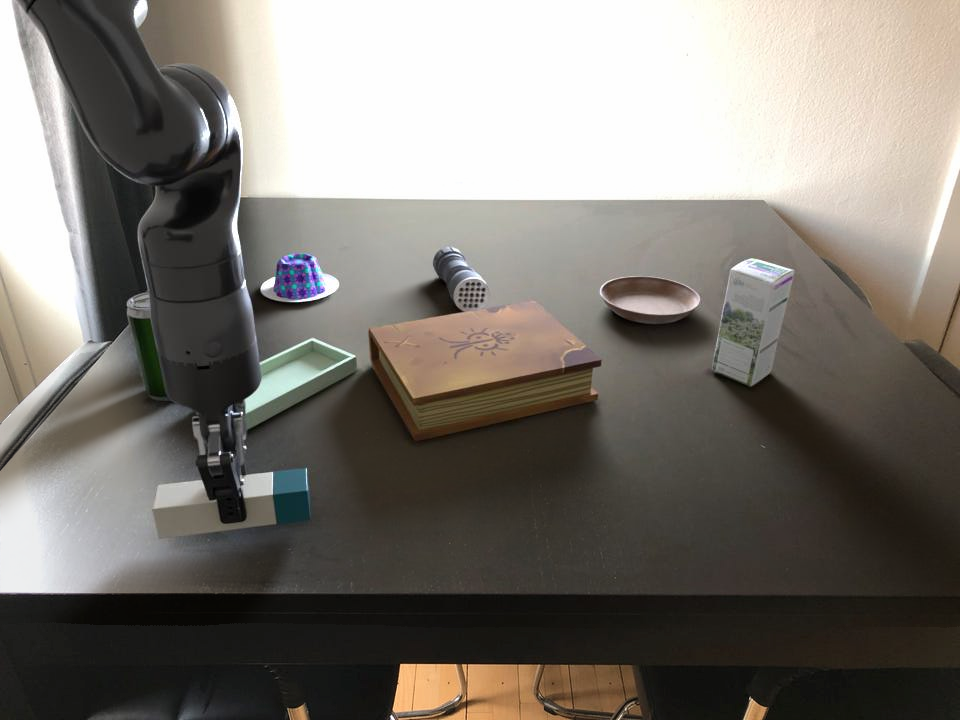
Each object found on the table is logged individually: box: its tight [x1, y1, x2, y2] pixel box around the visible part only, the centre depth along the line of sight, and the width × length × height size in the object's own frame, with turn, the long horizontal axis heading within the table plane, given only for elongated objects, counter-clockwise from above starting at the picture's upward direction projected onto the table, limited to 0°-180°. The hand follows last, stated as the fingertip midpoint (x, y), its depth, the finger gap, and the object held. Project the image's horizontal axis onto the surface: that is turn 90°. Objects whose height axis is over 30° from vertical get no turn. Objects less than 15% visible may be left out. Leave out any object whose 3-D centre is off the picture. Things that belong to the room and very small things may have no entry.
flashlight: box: [432, 246, 491, 312], centre depth 115 cm, size 15×5×5 cm, turn 17°
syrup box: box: [711, 257, 795, 388], centre depth 92 cm, size 6×6×14 cm
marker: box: [151, 467, 311, 540], centre depth 67 cm, size 13×3×3 cm, turn 103°
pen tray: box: [245, 337, 358, 431], centre depth 90 cm, size 17×8×2 cm, turn 143°
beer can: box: [125, 291, 172, 402], centre depth 86 cm, size 5×5×12 cm
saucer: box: [599, 275, 701, 325], centre depth 111 cm, size 15×15×3 cm
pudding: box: [260, 253, 340, 303], centre depth 115 cm, size 12×12×5 cm
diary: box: [367, 299, 602, 442], centre depth 91 cm, size 23×19×6 cm
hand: (235, 505), depth 67 cm, fingers closed on marker, 3 cm apart
